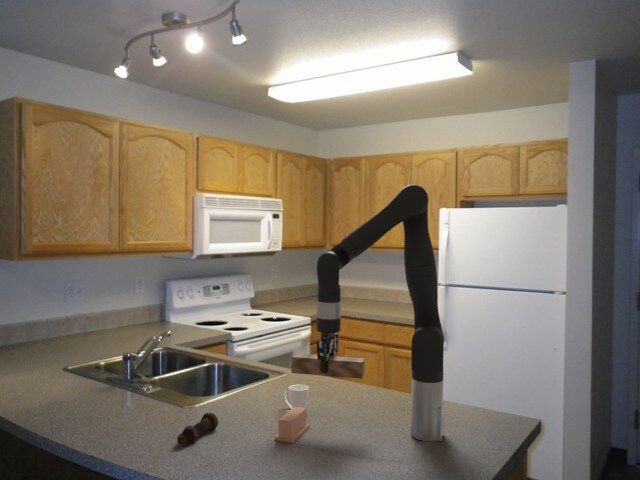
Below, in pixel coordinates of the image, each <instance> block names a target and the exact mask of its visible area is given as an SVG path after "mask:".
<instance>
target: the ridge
mask: <svg viewBox="0 0 640 480" xmlns="http://www.w3.org/2000/svg"><path fill="white" fill-rule="evenodd" d="M310 427H311V424H310V423H307V407H305V408H302V407H295V406H294V407H293V408H292V409H291V408H290V409H289V410H288V411H287V412H286V413H285V414H283V415H282V416H281V417H280V418H279V419H278V433H277V434H276V435H275V436H274V441H278V442H285V443H291V444H294V443H296V442H297V440H298V439H299V438H301V436H303V435H304V434H305V433H306V432H307V431H308V429H310Z"/></svg>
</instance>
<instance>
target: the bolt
mask: <svg viewBox="0 0 640 480" xmlns="http://www.w3.org/2000/svg"><path fill="white" fill-rule="evenodd" d="M218 425H219V420H218V417H217V415H216V414H215V413H214V412H213V413H212V412H205V413H203V416H202V418H201V419H200V421H199V422H196V423H195V424H193V425H186V426H185V427H184V429H183V430H182V431H181V433H180V434H179V435H178V436H177V438H176V439H177V440H176V442H177V443H178V444H179V445H180V446H185V445H187V444H188V443H190V444H193V443H195V442H196V441H197V440H198V438H199V436H200V435H202V434H203V433H205V432H206V431H211V432H213V431H215V430H216V429H217V427H218Z"/></svg>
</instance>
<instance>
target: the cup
mask: <svg viewBox="0 0 640 480" xmlns="http://www.w3.org/2000/svg"><path fill="white" fill-rule="evenodd" d="M287 391H288V394H289V399H290V400H289V401H290V402H289V401H288V399H287ZM309 391H310V386H308V385H307V384H299V383H297V384H292V385H290V386H289V387H286V388H285V389H284V393H283V399H284V401H285V404H286V405H287V406H288V407H289V409H290V410H291V409H292V408H293V407H294V406H295V407H302V408H307V403H308V399H309V398H308V397H309Z"/></svg>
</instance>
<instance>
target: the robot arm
mask: <svg viewBox="0 0 640 480" xmlns="http://www.w3.org/2000/svg"><path fill="white" fill-rule="evenodd" d="M429 202H430V201H429V195H428V193H427V190H425V189H424V187H422V186H421V185H419V184H408V185H406V186H404V187H403V188H402V189H401V190H399V192H398V193H397V195H396V196H395V197H394V198H393V199H392V200H391V201H390V202H389V203H388V204H387V205H386V206H385V207H384V208H383V209H381V210H380V211H379V212H378V213H377V214H375V215H374V216H372V217H370V218H369V219H368V220H367V221H365V222H363V223H362V224H361V225H360V226H358V227H357V228H356V229H354V230H353V231H351V232H350V233H349V234H348V235H346V236H345V237H343V238H342V240H341V241H340V243H338V244H336V245H335V246H333V247H332V248H330V249H329V250H327V251H326V252H323V253H322V254H320V255H319V257H318V259H317V262H316V275H317V285H318V288H317V305H316V320H315V321H316V322H315V323H316V325H315V329H316V331H317V332H318V333H321V334H320V339H319V340H317V341H316V353H317V354H316V355H317V359H318V360H321V362H320V372H321V373H327V372H328V357H329V356H337V355H336V354H337V353H338V352H339V351H338V348H339V347H338V346H339V338H340V337H339V336H340V334H339V332H340V331H341V328H342V327H341V326H342V325H341V324H342V323H341V322H342V320H341V319H342V316H341V315H342V307H341V295H342V293H341V292H342V291H341V285H340V270H342V269H343V268H344V267H346V266H347V265H348V264H349V263H350V262H352V260H353V259H356V258H357V257H359V256H360V255H362V254H363V253H364V252H366V251H367V250H369V249H370V248H371V247H373V246H374V245H375V244H376V243H377V242H378V241H380V239H382V238H383V237H384V236H385V235H386V234H387V233H388V232H390V231H391V230H392V229H394V228H395V227H396V226H398V225H399V224H401V223H402V224H403V225H402V227H403V230H404V231H403V232H404V233H403V234H404V245H403V260H404V262H403V263H404V265H403V266H404V272H405V274H404V275H405V281H406V285H407V290H408V293H409V294H408V295H409V297H410V299H411V300H410V301H411V303H412V307H413V318H414V324H413V325H414V332H413V334H412V338H411V348H410V349H411V352H410V353H411V354H410V355H411V356H410V357H411V358H410V360H411V361H410V364H411V367H410V368H411V406H410V407H411V410H410V411H411V412H410V414H411V415H410V416H411V417H410V435H411V437H412V438H414V439H416V440H419V441H423V442H442V440H443V436H444V423H445V422H444V419H445V418H444V417H445V415H444V413H445V411H444V410H445V404H444V347H445V346H444V345H445V334H444V332H443V327H442V324H441V318H440V313H439V308H438V307H439V305H438V297H439V296H438V295H439V294H438V291H439V290H438V273H437V265H436V259H435V252H434V248H433V244H432V239H431V237H430V231H429V220H428V219H429V218H428V217H429V215H428V214H429V213H428V212H429V211H428V210H429Z"/></svg>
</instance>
